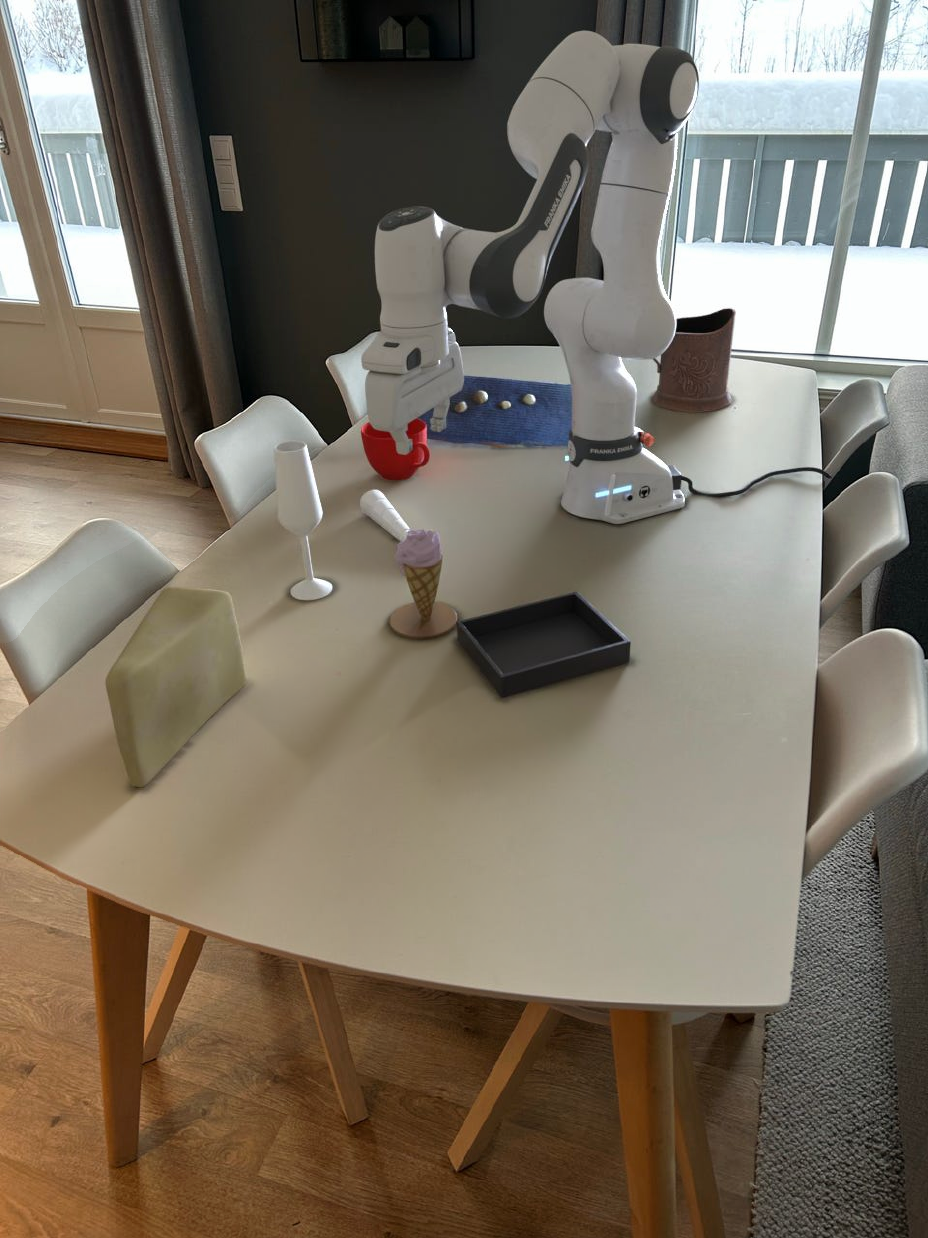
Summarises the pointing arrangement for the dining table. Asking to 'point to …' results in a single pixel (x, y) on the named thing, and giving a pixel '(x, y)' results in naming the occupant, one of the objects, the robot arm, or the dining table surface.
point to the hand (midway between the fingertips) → (422, 440)
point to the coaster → (423, 621)
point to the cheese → (173, 676)
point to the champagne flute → (299, 509)
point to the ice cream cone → (421, 567)
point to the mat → (506, 414)
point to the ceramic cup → (395, 451)
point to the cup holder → (697, 364)
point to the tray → (541, 643)
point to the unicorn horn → (384, 514)
